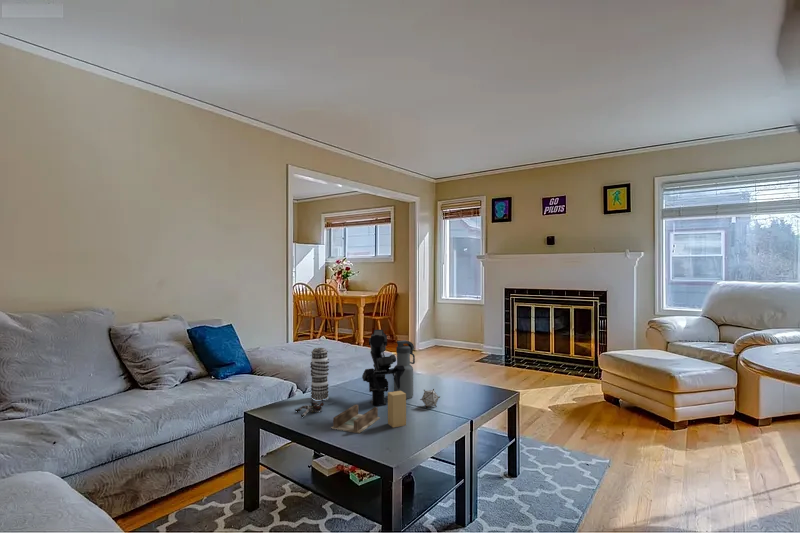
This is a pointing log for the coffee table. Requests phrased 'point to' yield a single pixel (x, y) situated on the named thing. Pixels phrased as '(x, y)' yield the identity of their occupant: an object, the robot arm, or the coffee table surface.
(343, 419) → the brown open-ended tray
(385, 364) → the robot arm
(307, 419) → the coffee table surface
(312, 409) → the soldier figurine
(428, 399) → the game die
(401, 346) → the water bottle
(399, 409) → the pillar
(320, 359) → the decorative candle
